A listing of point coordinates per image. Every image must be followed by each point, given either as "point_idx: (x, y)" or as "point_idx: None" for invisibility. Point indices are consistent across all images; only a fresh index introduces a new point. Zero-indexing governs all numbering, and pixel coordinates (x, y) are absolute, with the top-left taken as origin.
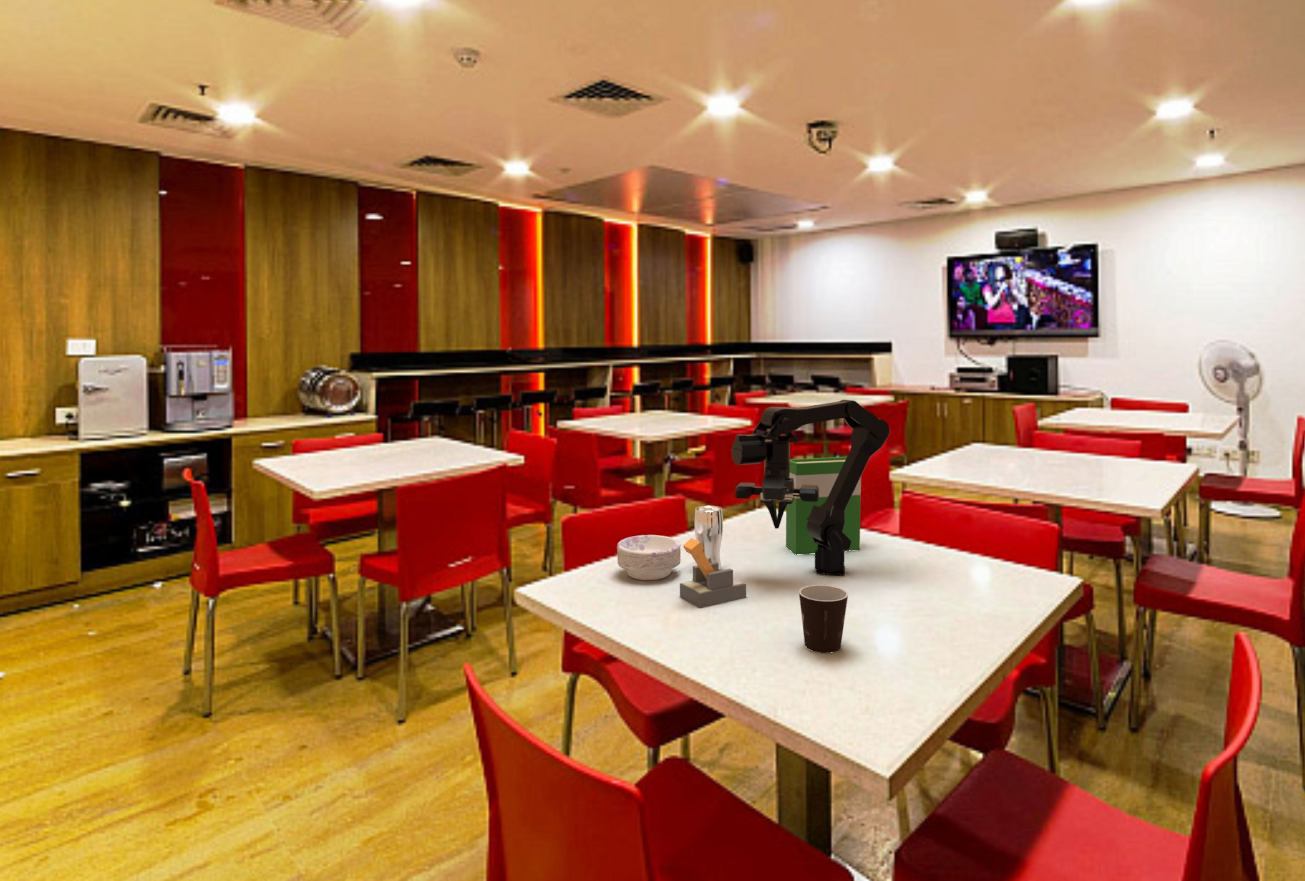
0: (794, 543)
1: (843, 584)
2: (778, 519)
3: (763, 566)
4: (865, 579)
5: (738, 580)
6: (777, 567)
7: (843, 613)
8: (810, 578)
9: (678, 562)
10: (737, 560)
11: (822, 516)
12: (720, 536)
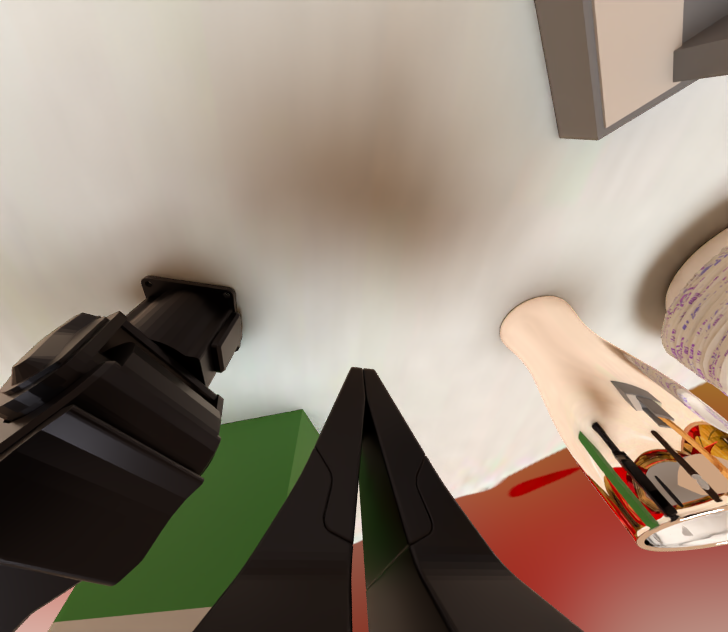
0: (302, 437)
1: (119, 189)
2: (351, 417)
3: (385, 341)
4: (65, 247)
5: (583, 12)
6: (348, 336)
7: None
8: (248, 250)
9: (723, 262)
10: (442, 375)
11: (33, 484)
12: (576, 388)
